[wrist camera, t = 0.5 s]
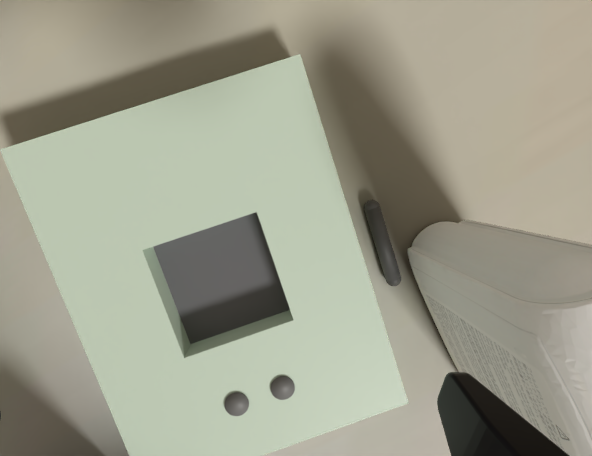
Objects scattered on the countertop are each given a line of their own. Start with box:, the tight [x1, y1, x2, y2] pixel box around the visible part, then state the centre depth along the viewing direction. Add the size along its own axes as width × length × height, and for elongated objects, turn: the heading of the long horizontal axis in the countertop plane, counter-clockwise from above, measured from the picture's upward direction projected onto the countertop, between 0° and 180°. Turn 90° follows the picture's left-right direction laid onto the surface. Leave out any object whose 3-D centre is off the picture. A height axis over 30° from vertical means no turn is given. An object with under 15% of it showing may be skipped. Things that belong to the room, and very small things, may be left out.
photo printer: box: [408, 220, 592, 456], centre depth 16 cm, size 10×4×12 cm, turn 27°
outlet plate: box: [0, 54, 408, 456], centre depth 20 cm, size 18×16×2 cm
